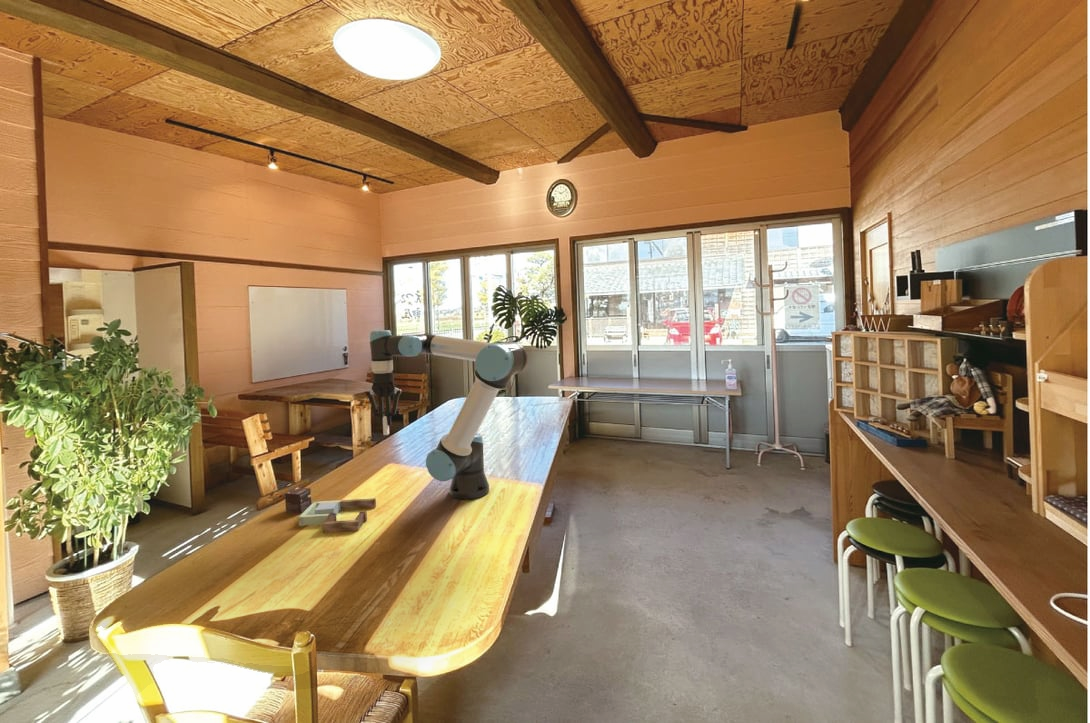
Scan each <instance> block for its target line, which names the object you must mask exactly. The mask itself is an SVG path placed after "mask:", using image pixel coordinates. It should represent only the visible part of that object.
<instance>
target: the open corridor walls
mask: <svg viewBox="0 0 1090 723" xmlns="http://www.w3.org/2000/svg"><path fill="white" fill-rule="evenodd" d="M340 500H341V499H340ZM376 507H377V499H376V497H375V498H359V499H358V498H357V499H342V500H341V501H340V509H341V510H340V511H346V510H348V511H349V510H360V509H366V510H367V509H376ZM367 521H368V512H367V511H360V512H359V513H358V515H356V517H355V518H354V519H353V520H337V516H336V513H332V514H329V515H328V518H327V519H326V520H325V521H324V523H323V524H322V525H321V527H322V534H325V533H326V534H329V533H330V534H331V533H345V532H359V531H360V530H361V528H362V526H363V524H365V523H367Z"/></svg>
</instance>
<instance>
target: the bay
mask: <svg viewBox="0 0 1090 723" xmlns="http://www.w3.org/2000/svg"><path fill="white" fill-rule="evenodd" d="M340 501H341V499H339V500H323V501H320V500H319V501H313V502H311V503H312V504H311V505H310V506H309V507H308V508H307V509H306V510H305V511H304V512H303V513H301V514H299V516H298V527H305V525H308V526H322V524H323V523H324V521H325V520H326V519H327V518H328V515H329V514H316V515H315V509H316V508H317V507H318V505H319V504H320V503H330V502H338V508H339V511H342V510H341V509H340Z"/></svg>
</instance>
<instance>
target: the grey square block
mask: <svg viewBox="0 0 1090 723" xmlns="http://www.w3.org/2000/svg"><path fill="white" fill-rule="evenodd" d="M332 513H336V517H337V516H338V514H339V513H340V510H339V508H338V502H330V503H320V504H319V505H318V507H317V508H316V509H315V514H314V515H316V514H332Z"/></svg>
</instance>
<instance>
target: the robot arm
mask: <svg viewBox="0 0 1090 723" xmlns="http://www.w3.org/2000/svg"><path fill="white" fill-rule="evenodd" d="M369 346H370V355H371V358H370V359H371V360H370V361H371V371H372V372H373V373H371V374H372V375H371V378H372V386H371V388H370V389H369V390H367V391H366V392H365V395H366V396H367V397H368V399H369V403H370V406H371V409H372V412H373V416H374V417H378V418H379V425H380V427H382V432H383V433H382V434H383V436H389V434H390V427H391V425H392V416H395V415H396V414H397V411H398V406H399V405H398V404H399V399H400V395H401V394H402V393H403V392H402V391H403V390H402V389H401V388H400V389H399V388H397V387H396V384H395V376H394V375H395V374H394V372H393V370H394V359H393V357H408V358H409V357H417V356H418V355H424V354H427V355H433V356H439V357H445V358H452V359H457V360H466V361H470V362H474V363H475V371H474V373H473V374H474V377H475V381H474V383H473V384H472V387H471V389H470V391H469V393H468V395H467V397H466V398H465V400H464V403H463V404H462V406H461V408H460V410H459V412H458V414H457V415H456V418H455V420H454V422H453V423H452V427H451V428H450V430H449V432H448V433H447V434H444V435H442V436H441V438H440V441H439V442H438V444H437V447H436V448H435V449H433V450H431V451H430V452H429V453H428V454H427V455H426V457H425V467H426V468H427V472H428V474H429V475H430V476H431V477H432V478H433V479H435V480H436V481H439V482H448V481H450V480H451V482H450V485H449V496H450V497H452V498H454V499H457V500H474V499H477V498H481V497H484V496H486V495H487V494H489V493H490V484H489V481H488V479H487V476H486V474H485V468H484V466H485V464H484V463H485V462H484V459H485V458H484V441H483V436H482V435H481V434H480V433H478V431H479V430H480V428H481V425H483V424H482V423H483V421H484V420H485V418H486V416H487V414H488V413H489V410H490V409H491V407H492V404H493V402H494V401H495V399H496V397H497V395H498V393H499V391H502V390H506V388H507V386H508V383H509V382H510V380H511V378H512V376H515V375H517V374H519V373H521V372H522V371H523V370H524V369H525V368H526V367H527V364H528V360H529V358H528V352H527V350H526V348H525V347H524V346H523V345H522V344H521V343H519V342H517V341H501V340H500V341H498V340H496V341H495V342H494V343H493V342H487V341H480V340H471V339H465V338H458V337H449V336H443V335H436V334H434V333H420V334H406V335H405V334H404V335H403V334H402V335H393V334H392V332H391V330H389V329H387V330H385V329H384V330H383V329H381V330H380V329H379V330H371V331H370V333H369ZM393 392H394V394H395V395H394V398H393V404H391V395H392V394H393ZM374 395H376V396H377V399H378V405H377V401H376V398H375V396H374ZM384 400H385V405H384ZM385 413H386V414H385ZM385 415H386V416H385Z"/></svg>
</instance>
